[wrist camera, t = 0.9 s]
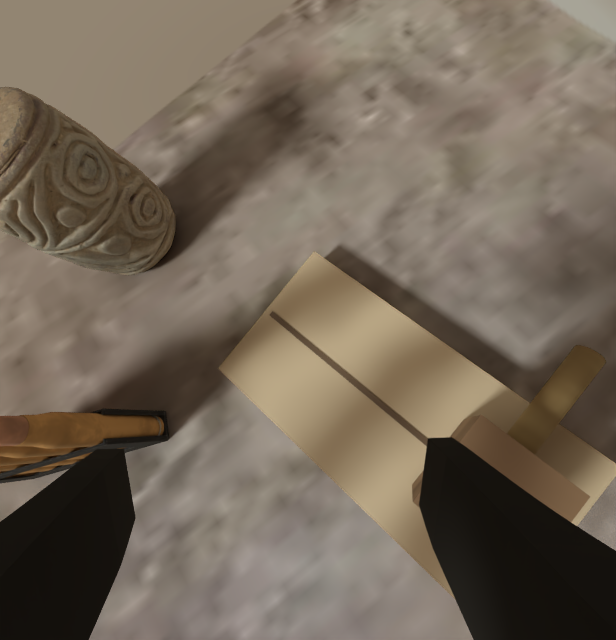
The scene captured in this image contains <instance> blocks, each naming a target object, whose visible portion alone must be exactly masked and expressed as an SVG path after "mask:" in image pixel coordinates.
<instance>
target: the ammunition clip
mask: <svg viewBox="0 0 616 640" xmlns="http://www.w3.org/2000/svg"><path fill="white" fill-rule="evenodd" d="M168 439H169V437H168V429H167V421H166V413H165V411H146V410H121V409H101V410H97V411H94V412H91V413H70V412H50V413H44V414H39V415H20V416H0V483H6V482H14V481H21V480H29V479H35V478H38V477H42V476H45V475H49V474H52V473H56V472H59V471H63V470H66V469H70V468H72V467H73V466H74V465H76V464H77V463H78V462H80V461H81V460H82V459H84V458H85V457H86V456H88V455H89V454H90V453H92V452H93V451H95V450H96V449H120V448H124V453H126V452H129V451H133V450H136V449H140V448H143V447H147V446H150V445H154V444H157V443H161V442H164V441H167V440H168Z"/></svg>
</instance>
